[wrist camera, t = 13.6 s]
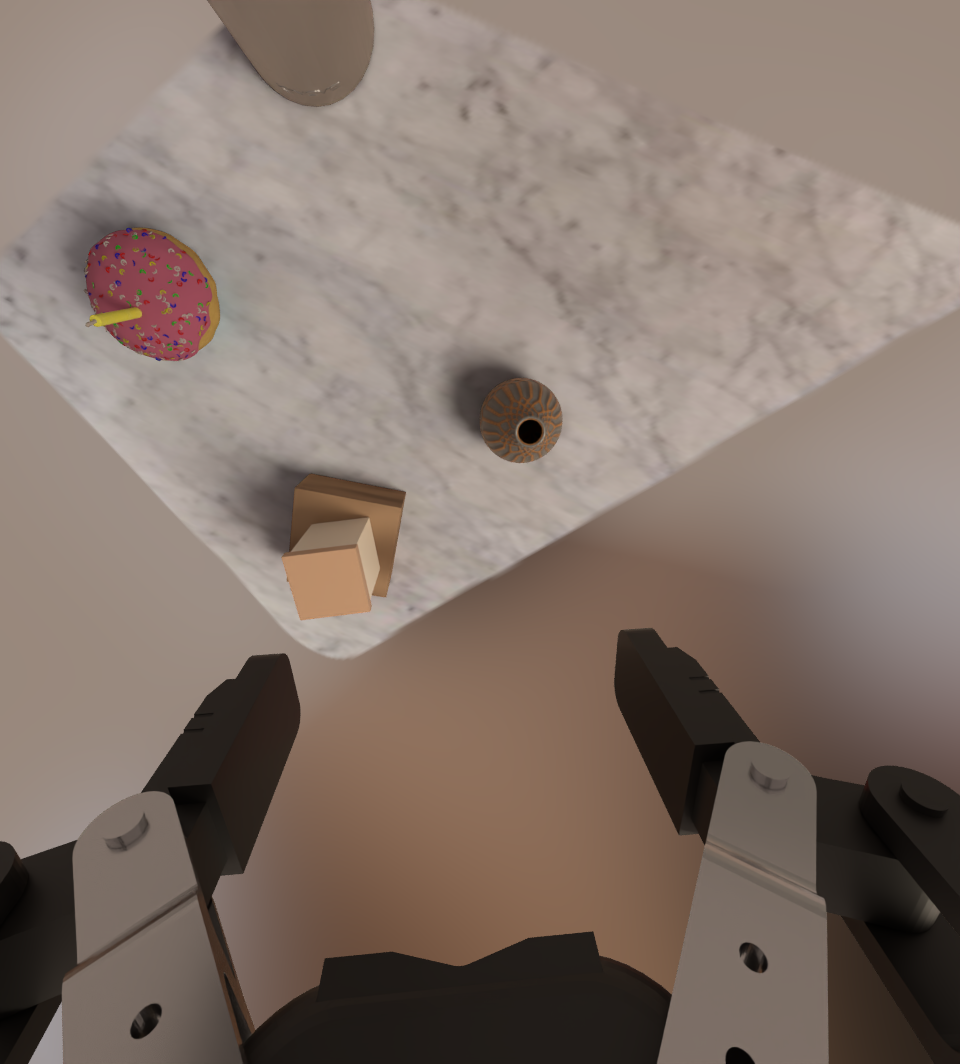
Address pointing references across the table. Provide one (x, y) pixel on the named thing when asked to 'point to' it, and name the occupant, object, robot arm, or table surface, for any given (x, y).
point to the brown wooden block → (351, 515)
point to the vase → (520, 420)
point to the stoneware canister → (333, 569)
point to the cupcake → (152, 293)
